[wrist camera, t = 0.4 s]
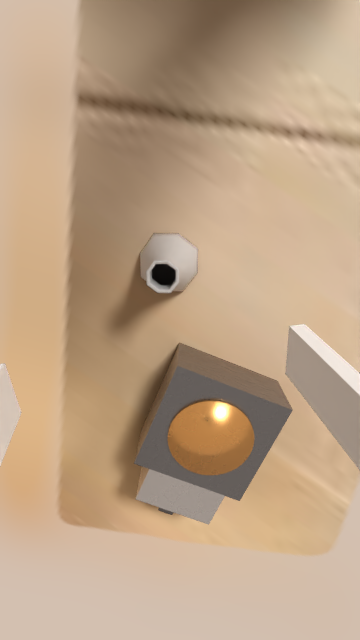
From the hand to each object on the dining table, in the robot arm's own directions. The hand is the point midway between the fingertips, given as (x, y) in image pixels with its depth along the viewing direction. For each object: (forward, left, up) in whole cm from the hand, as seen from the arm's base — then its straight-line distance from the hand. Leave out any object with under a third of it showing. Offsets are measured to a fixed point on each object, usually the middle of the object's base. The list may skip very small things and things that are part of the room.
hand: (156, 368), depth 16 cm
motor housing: (+19, +11, -26) cm, 34 cm away
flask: (-1, -1, -27) cm, 27 cm away
